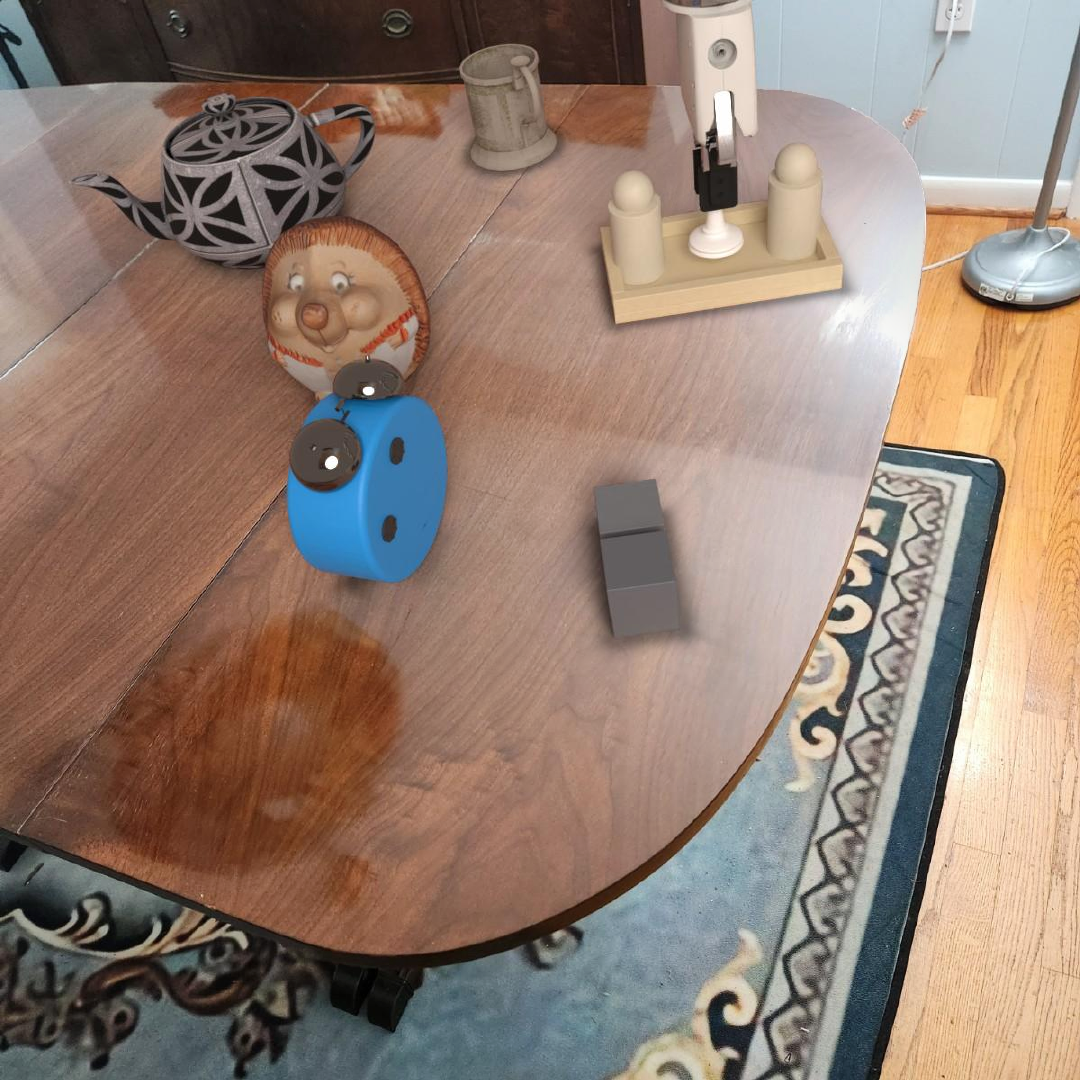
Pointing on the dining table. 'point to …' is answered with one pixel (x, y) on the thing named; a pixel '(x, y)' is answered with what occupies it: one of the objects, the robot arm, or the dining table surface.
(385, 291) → the figurine
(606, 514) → the slate blocks
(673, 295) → the pawn tray
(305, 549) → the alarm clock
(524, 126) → the mug
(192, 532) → the dining table surface
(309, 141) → the teapot
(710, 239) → the chess piece
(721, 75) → the robot arm
